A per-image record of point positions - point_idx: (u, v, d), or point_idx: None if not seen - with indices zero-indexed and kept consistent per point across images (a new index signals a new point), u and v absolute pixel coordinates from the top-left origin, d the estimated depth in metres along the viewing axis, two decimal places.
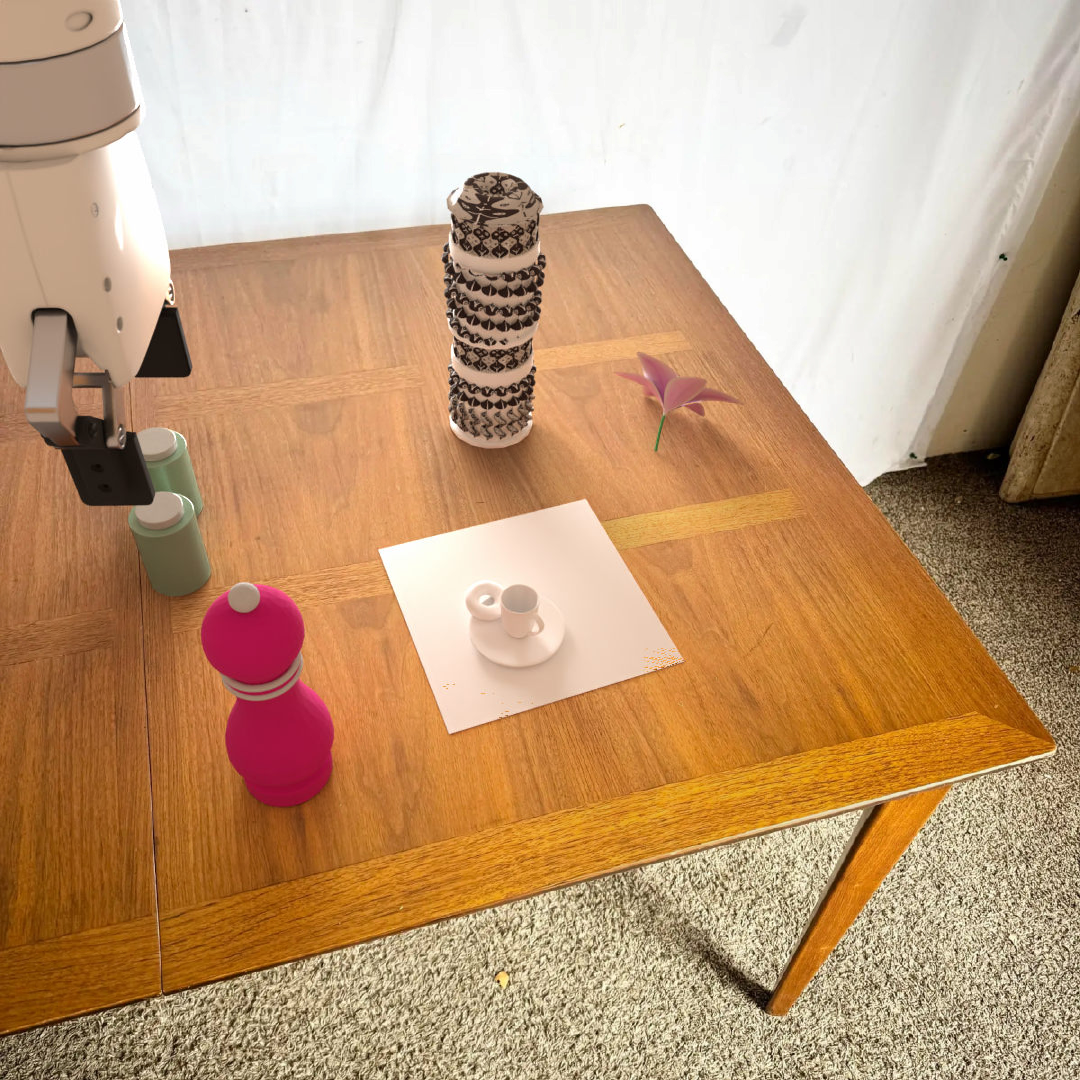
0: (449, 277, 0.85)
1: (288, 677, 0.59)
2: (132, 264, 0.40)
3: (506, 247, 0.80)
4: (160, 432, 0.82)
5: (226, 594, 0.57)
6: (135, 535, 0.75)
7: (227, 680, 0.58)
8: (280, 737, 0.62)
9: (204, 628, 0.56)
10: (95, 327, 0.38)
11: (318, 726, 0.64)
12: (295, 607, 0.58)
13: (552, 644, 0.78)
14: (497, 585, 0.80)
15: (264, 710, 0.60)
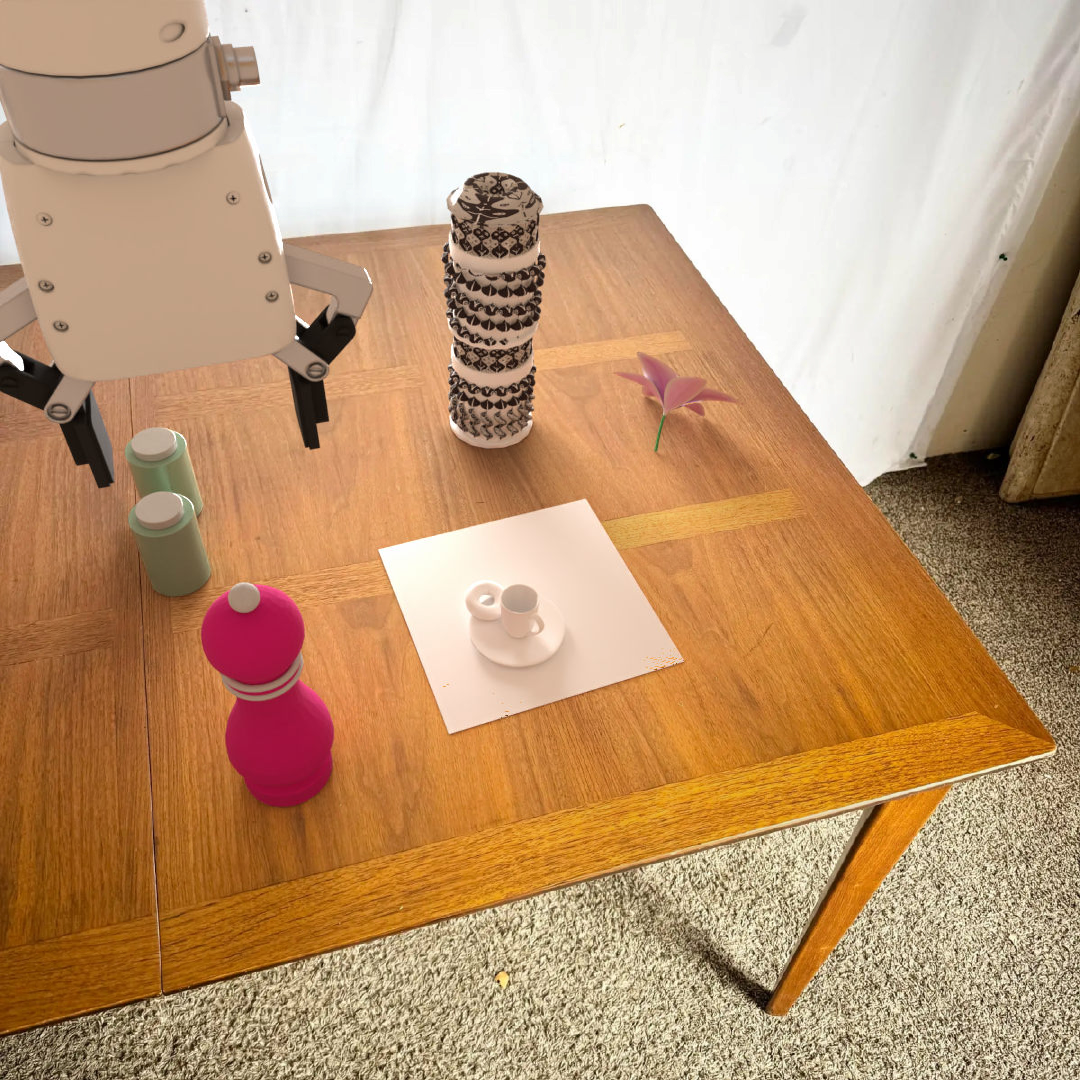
0: (449, 277, 0.85)
1: (288, 677, 0.59)
2: (118, 294, 0.38)
3: (506, 247, 0.80)
4: (160, 432, 0.82)
5: (226, 594, 0.57)
6: (135, 535, 0.75)
7: (227, 680, 0.58)
8: (280, 737, 0.62)
9: (205, 628, 0.56)
10: (36, 312, 0.38)
11: (318, 726, 0.64)
12: (295, 607, 0.58)
13: (553, 644, 0.78)
14: (497, 585, 0.80)
15: (265, 710, 0.60)
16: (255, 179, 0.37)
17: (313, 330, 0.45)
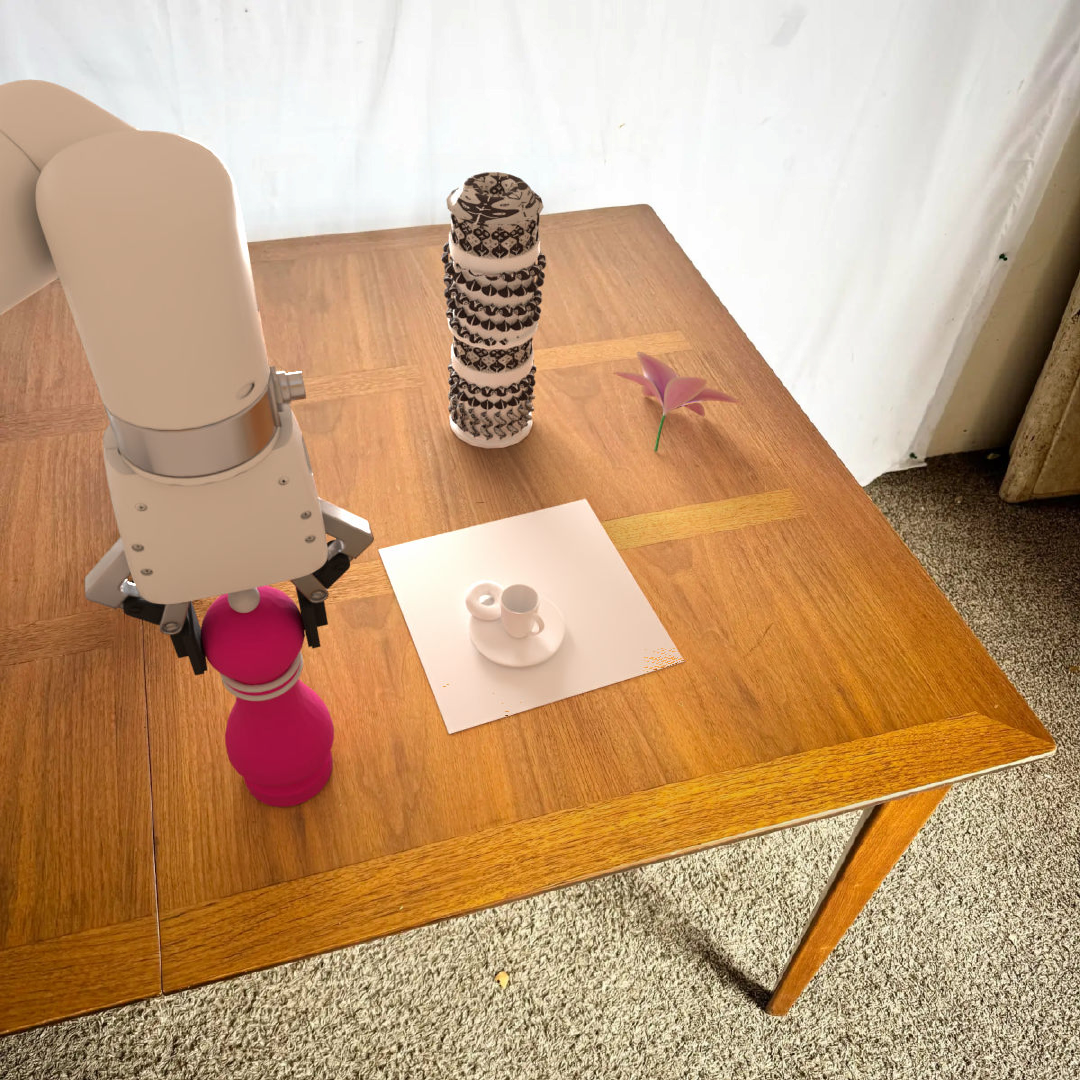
0: (449, 277, 0.85)
1: (288, 677, 0.59)
2: (192, 549, 0.48)
3: (506, 247, 0.80)
4: None
5: (226, 594, 0.57)
6: None
7: (227, 680, 0.58)
8: (280, 737, 0.62)
9: (204, 628, 0.56)
10: (127, 561, 0.49)
11: (318, 726, 0.64)
12: (295, 607, 0.58)
13: (552, 644, 0.78)
14: (497, 585, 0.80)
15: (264, 710, 0.60)
16: (300, 464, 0.48)
17: None
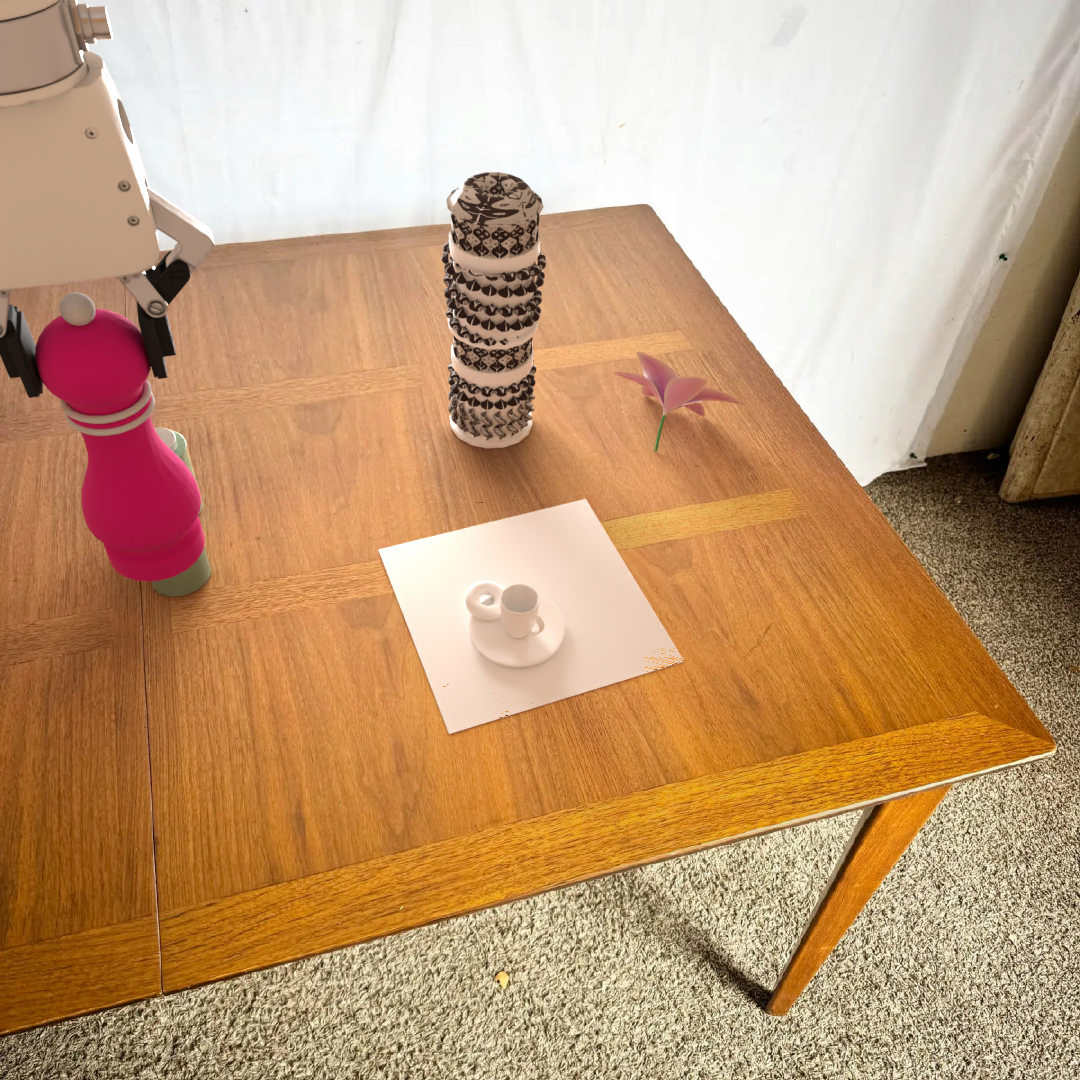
0: (449, 277, 0.85)
1: (133, 411, 0.55)
2: None
3: (506, 247, 0.80)
4: (160, 432, 0.82)
5: None
6: None
7: (67, 411, 0.55)
8: (133, 488, 0.59)
9: (37, 344, 0.53)
10: None
11: (178, 485, 0.61)
12: (139, 332, 0.55)
13: (552, 644, 0.78)
14: (497, 585, 0.80)
15: (113, 453, 0.57)
16: (110, 117, 0.45)
17: (155, 274, 0.53)
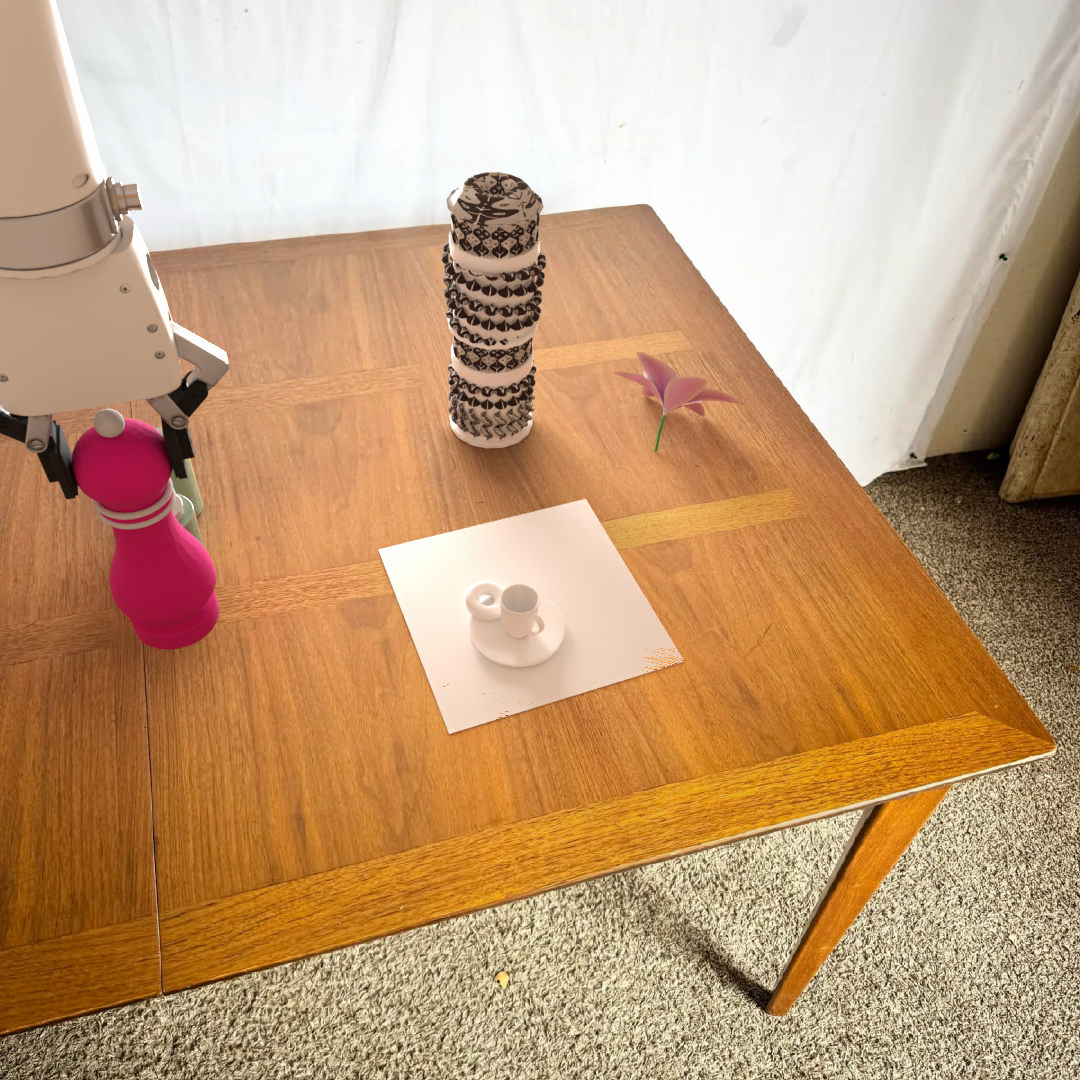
0: (449, 277, 0.85)
1: (158, 507, 0.63)
2: (43, 355, 0.52)
3: (506, 247, 0.80)
4: (160, 432, 0.82)
5: None
6: None
7: (99, 508, 0.62)
8: (156, 572, 0.66)
9: (73, 453, 0.60)
10: None
11: (196, 566, 0.68)
12: (162, 439, 0.62)
13: (552, 644, 0.78)
14: (497, 585, 0.80)
15: (139, 542, 0.64)
16: (141, 274, 0.52)
17: (177, 391, 0.60)
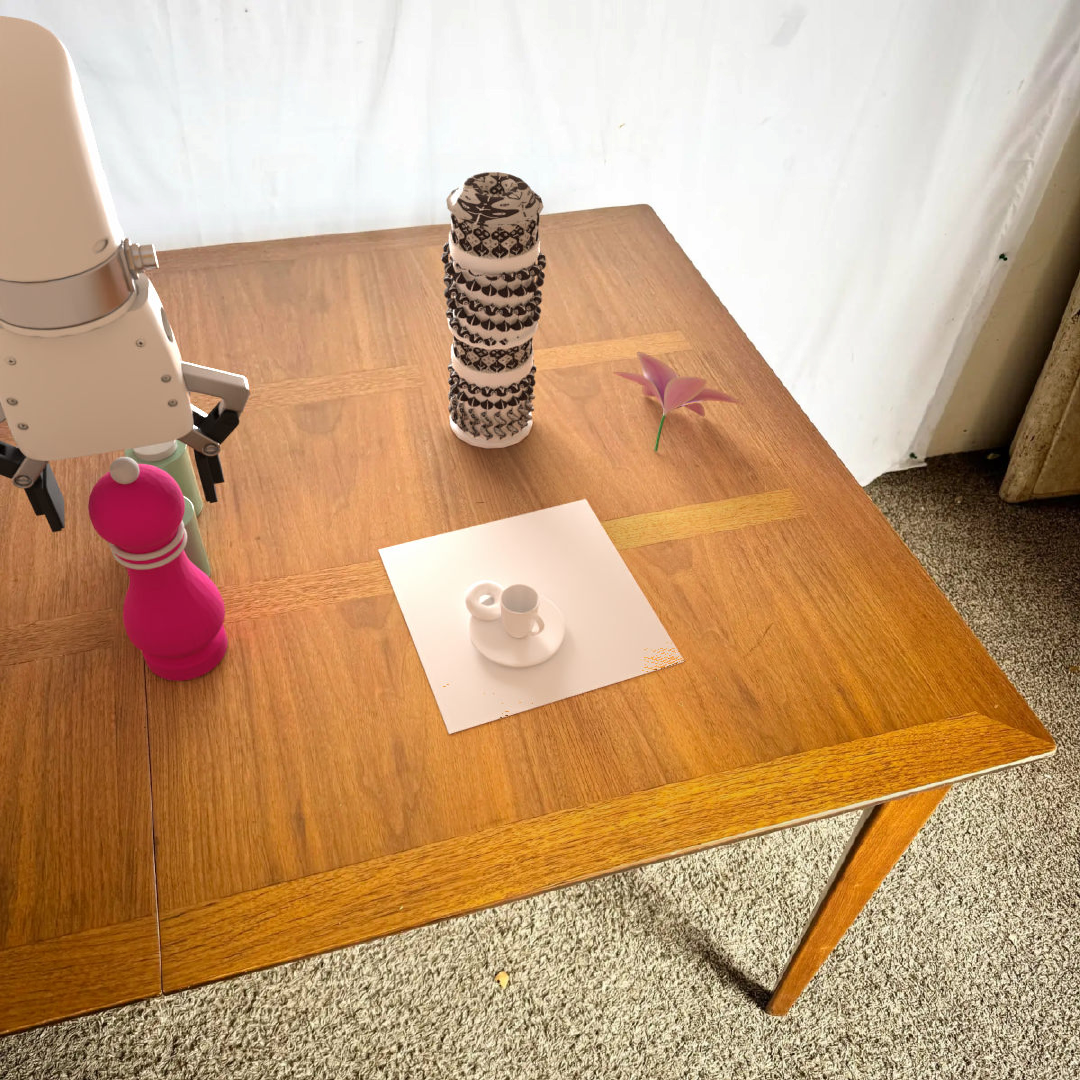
0: (449, 277, 0.85)
1: (170, 548, 0.65)
2: (62, 405, 0.55)
3: (506, 247, 0.80)
4: None
5: None
6: None
7: (114, 550, 0.65)
8: (168, 608, 0.69)
9: (90, 499, 0.63)
10: (5, 417, 0.55)
11: (206, 602, 0.71)
12: (175, 484, 0.65)
13: (552, 644, 0.78)
14: (497, 585, 0.80)
15: (152, 581, 0.67)
16: (156, 329, 0.54)
17: (209, 419, 0.62)
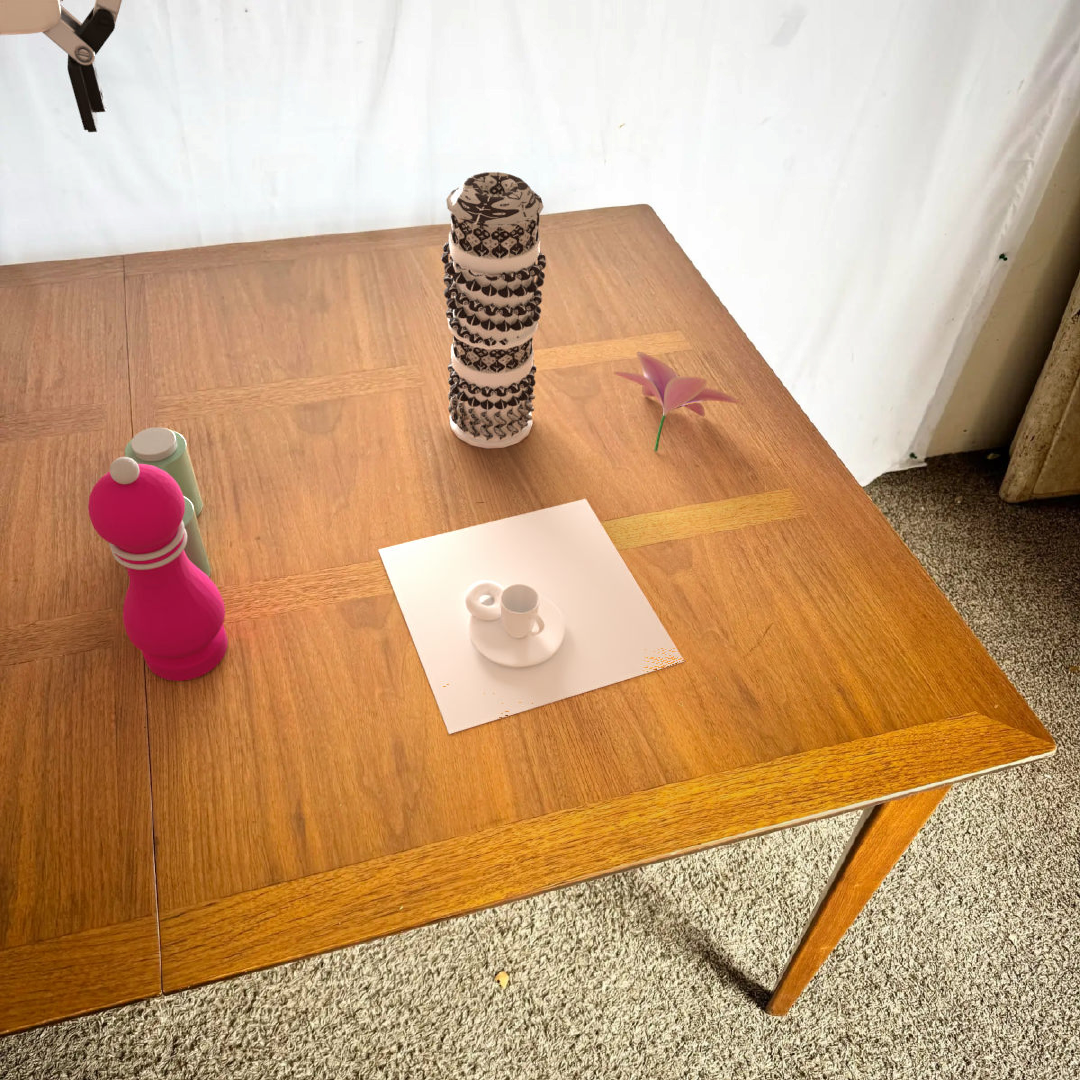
0: (449, 277, 0.85)
1: (170, 548, 0.65)
2: None
3: (506, 247, 0.80)
4: (160, 432, 0.82)
5: None
6: None
7: (114, 550, 0.65)
8: (168, 608, 0.69)
9: (90, 499, 0.63)
10: None
11: (205, 602, 0.71)
12: (175, 484, 0.65)
13: (552, 644, 0.78)
14: (497, 585, 0.80)
15: (152, 581, 0.67)
16: None
17: (83, 24, 0.57)
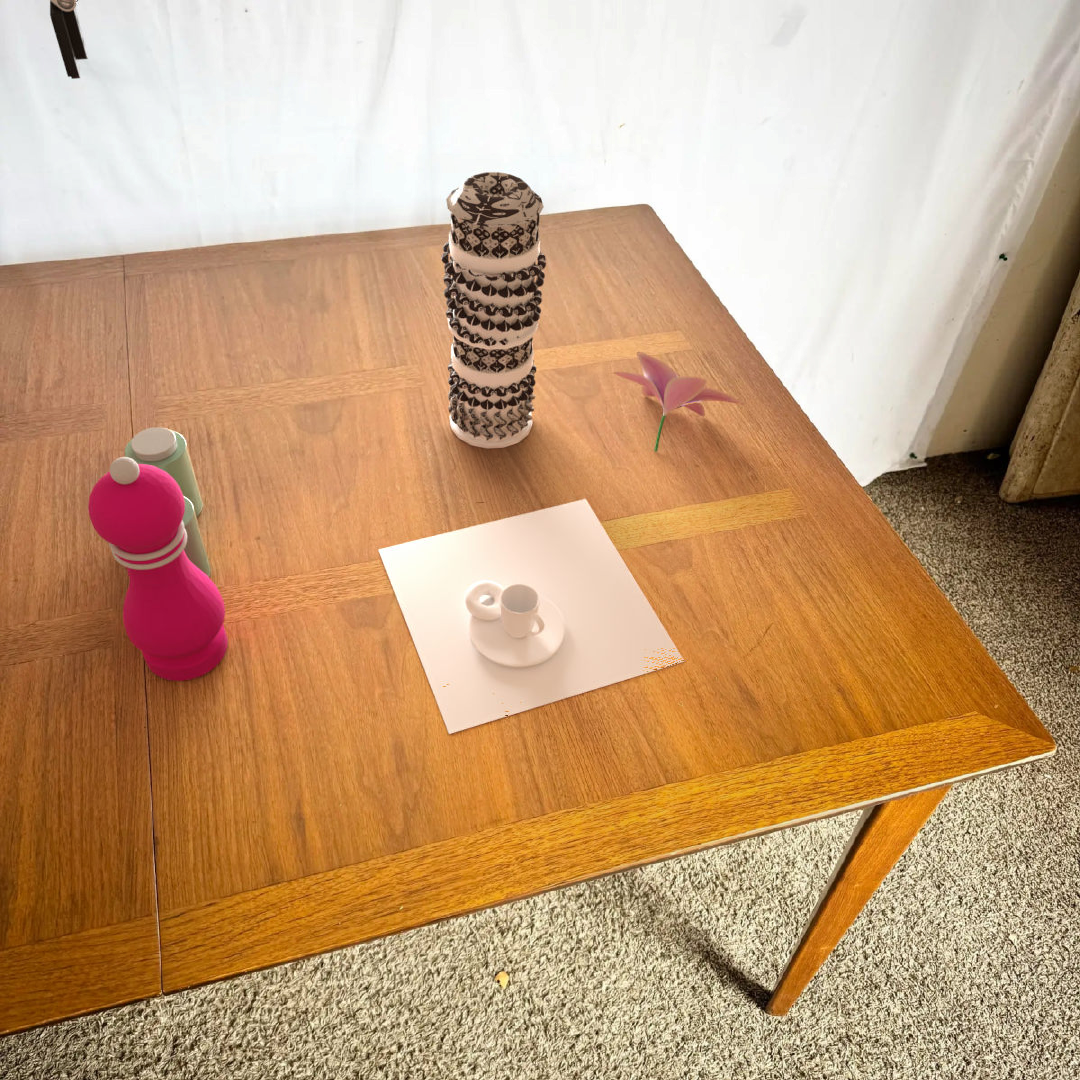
0: (449, 277, 0.85)
1: (170, 548, 0.65)
2: None
3: (506, 247, 0.80)
4: (160, 432, 0.82)
5: None
6: None
7: (114, 550, 0.65)
8: (168, 608, 0.69)
9: (90, 499, 0.63)
10: None
11: (205, 602, 0.71)
12: (175, 484, 0.65)
13: (552, 644, 0.78)
14: (497, 585, 0.80)
15: (152, 581, 0.67)
16: None
17: None
